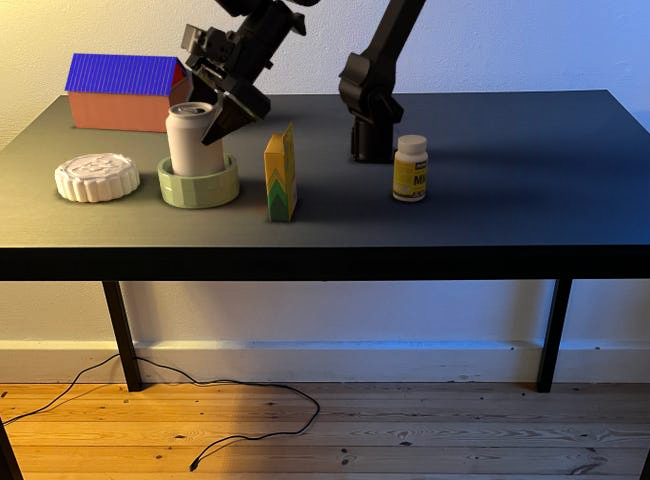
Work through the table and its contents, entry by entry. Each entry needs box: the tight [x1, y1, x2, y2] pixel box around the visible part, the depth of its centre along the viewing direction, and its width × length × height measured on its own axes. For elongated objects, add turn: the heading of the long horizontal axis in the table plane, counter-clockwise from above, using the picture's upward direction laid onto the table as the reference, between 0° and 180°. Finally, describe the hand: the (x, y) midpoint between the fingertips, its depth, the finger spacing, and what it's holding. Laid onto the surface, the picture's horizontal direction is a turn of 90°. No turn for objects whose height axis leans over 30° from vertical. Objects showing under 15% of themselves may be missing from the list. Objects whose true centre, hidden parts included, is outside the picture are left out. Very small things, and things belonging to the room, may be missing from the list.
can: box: [166, 102, 225, 177], centre depth 98 cm, size 8×8×12 cm
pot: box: [157, 151, 241, 210], centre depth 101 cm, size 11×11×4 cm
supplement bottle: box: [392, 134, 429, 203], centre depth 98 cm, size 5×5×8 cm
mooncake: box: [54, 152, 141, 203], centre depth 103 cm, size 12×12×4 cm
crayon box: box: [263, 120, 298, 222], centre depth 93 cm, size 7×3×12 cm, turn 174°
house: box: [64, 52, 190, 133], centre depth 126 cm, size 12×20×12 cm, turn 79°
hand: (192, 134), depth 97 cm, fingers open, 9 cm apart
